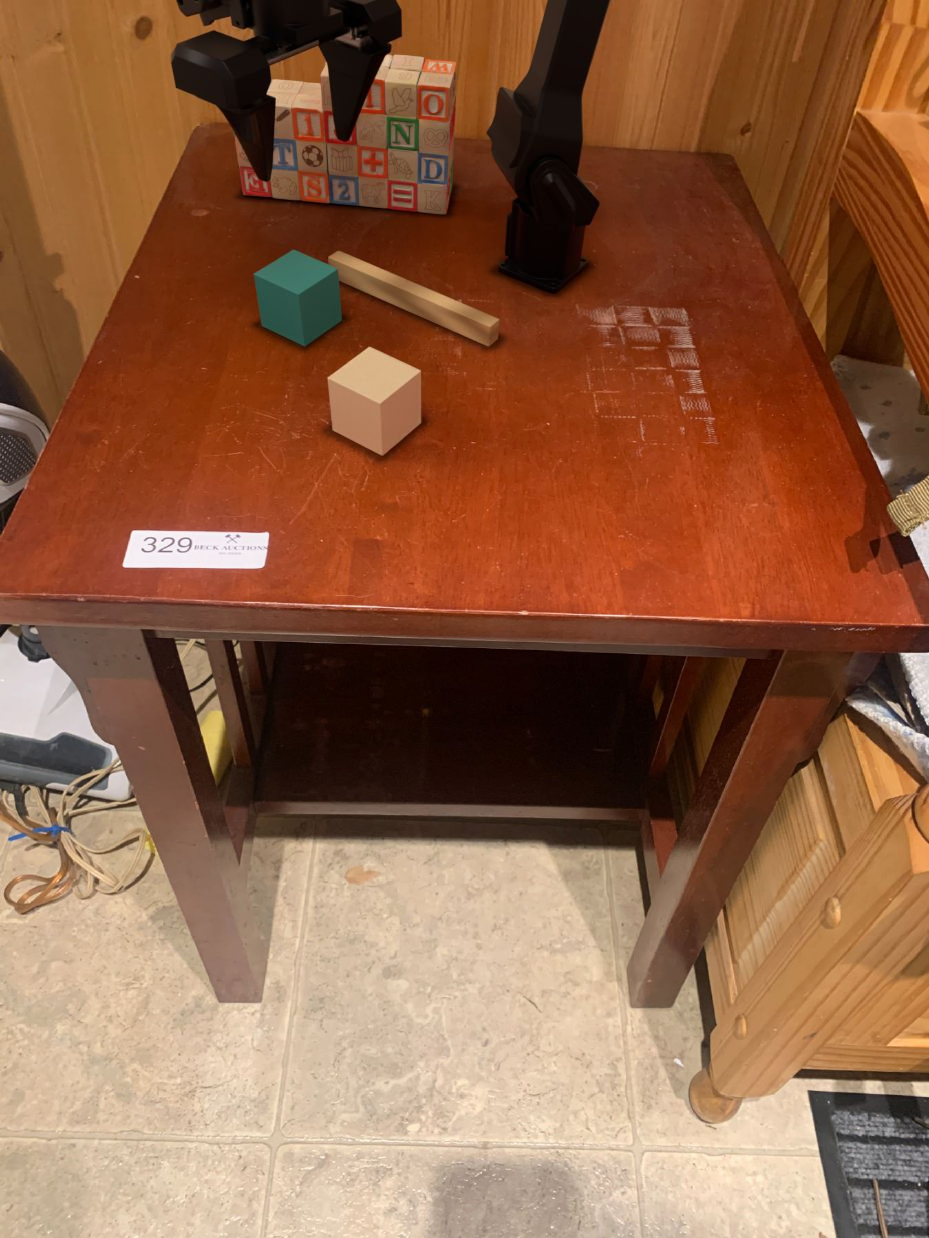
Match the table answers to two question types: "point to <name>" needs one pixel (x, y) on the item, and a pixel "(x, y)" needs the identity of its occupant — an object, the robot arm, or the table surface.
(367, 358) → the cream block
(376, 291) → the rail
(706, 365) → the table surface
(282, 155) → the stack of blocks
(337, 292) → the teal block
